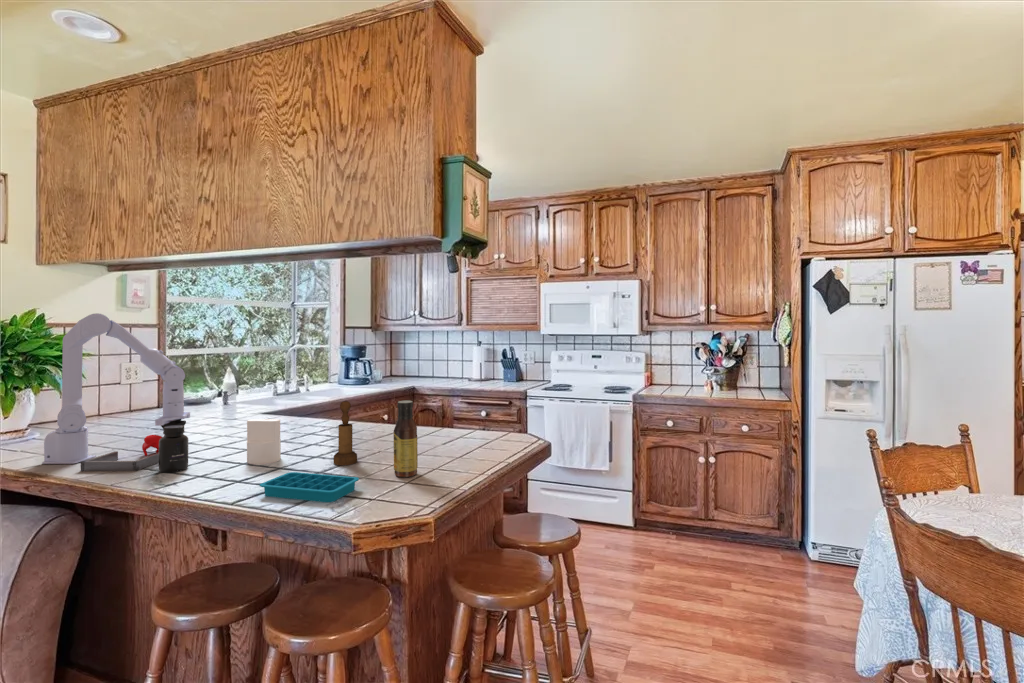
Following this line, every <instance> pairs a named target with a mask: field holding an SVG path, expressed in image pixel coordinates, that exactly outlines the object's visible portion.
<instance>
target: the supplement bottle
mask: <svg viewBox="0 0 1024 683" xmlns="http://www.w3.org/2000/svg"><path fill="white" fill-rule="evenodd" d="M162 429H163V433H162V434H163V436H162V438H161V439H160V440H159V452H158V453H159V462H158V471H159V472H160V473H167V474H168V473H178V472H183V471H185V470H187V469H189V437H188V436H187V434H186V435H185V434H184V433H185V431H186V430H185V425H184V426H182V425H175V426H167V427H164V428H162Z"/></svg>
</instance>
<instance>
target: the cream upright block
mask: <svg viewBox="0 0 1024 683" xmlns="http://www.w3.org/2000/svg"><path fill="white" fill-rule="evenodd" d="M246 431H247V432H246V433H247V434H246V436H247V437H246V463H247V464H248V465H265V464H266V465H267V464H273V463H276V462H278V461H280V460H281V458H282V456H281V454H282V451H281V449H282V448H281V447H282V446H281V440H282V439H281V419H280V418H279V419H275V418H274V419H272V418H271V419H267V418H265V419H263V418H251V419H248V420H247V421H246Z"/></svg>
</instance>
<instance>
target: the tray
mask: <svg viewBox="0 0 1024 683" xmlns="http://www.w3.org/2000/svg"><path fill="white" fill-rule="evenodd" d="M155 464H159V452H158V453H156V452H155V453H153V454H151V455H147V456H145V457H143V458H140V459H137V460H119V451H118V450H117V451H112V452H108V453H105V454H102V455H98V456H96V457H94V458H91V459H88V460H85V461H81V462H80V472H134V471H135V472H137V471H139V470H142V469H145V468H147V467H150V466H153V465H155Z"/></svg>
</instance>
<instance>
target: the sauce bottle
mask: <svg viewBox="0 0 1024 683" xmlns="http://www.w3.org/2000/svg"><path fill="white" fill-rule="evenodd" d="M413 407H414V402H413V400H400V401H397V408H398V410H397V420H396V423H395V426H394V428H393V470H394V471H393V472H394V475H395V476H396V477H398V478H399V477H400V478H412V477H414V476H415V475H418V474H417V473H418V464H419V463H418V459H419V458H418V426H417V423H416V421H415V420H414V419H413V416H414V415H413Z"/></svg>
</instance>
